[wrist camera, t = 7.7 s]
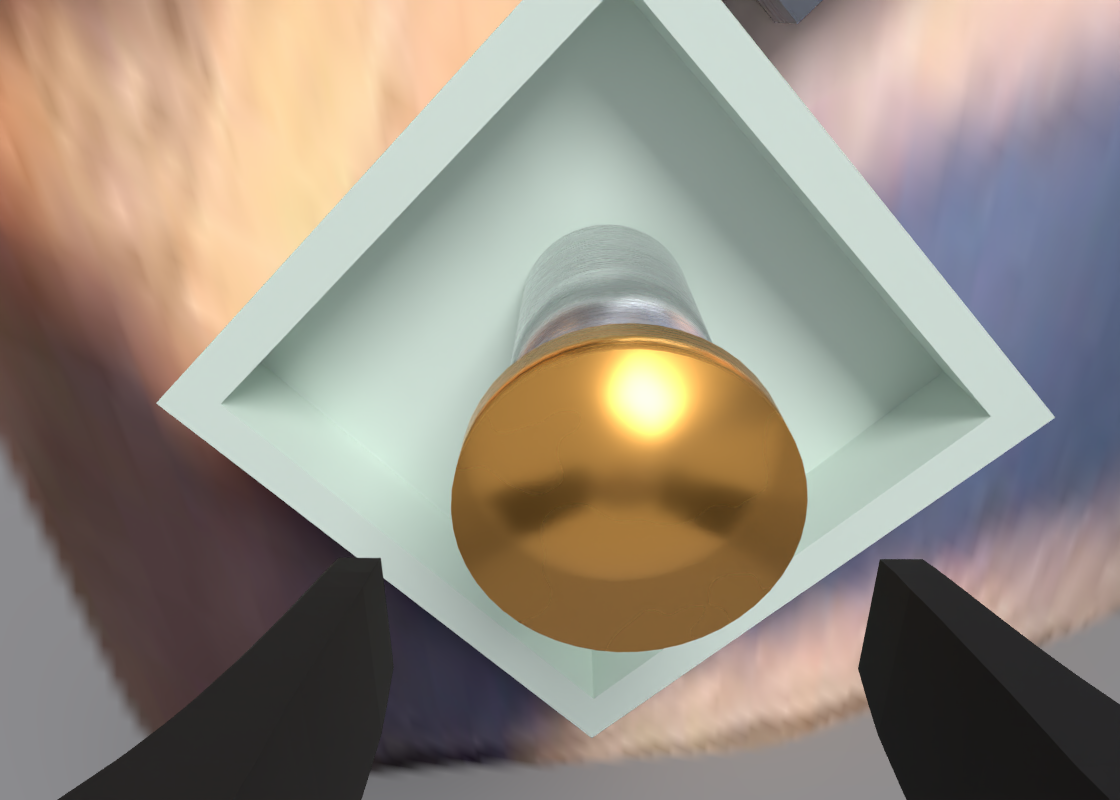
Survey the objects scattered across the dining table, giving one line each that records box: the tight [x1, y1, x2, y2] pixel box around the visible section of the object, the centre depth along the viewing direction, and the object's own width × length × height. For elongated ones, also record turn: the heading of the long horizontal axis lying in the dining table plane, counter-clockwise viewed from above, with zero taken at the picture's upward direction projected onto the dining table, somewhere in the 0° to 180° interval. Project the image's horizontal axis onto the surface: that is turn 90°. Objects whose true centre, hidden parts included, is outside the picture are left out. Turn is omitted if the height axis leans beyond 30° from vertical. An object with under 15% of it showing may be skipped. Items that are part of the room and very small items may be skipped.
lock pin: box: [451, 225, 808, 652], centre depth 16 cm, size 5×5×9 cm
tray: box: [157, 0, 1055, 738], centre depth 20 cm, size 14×14×4 cm
